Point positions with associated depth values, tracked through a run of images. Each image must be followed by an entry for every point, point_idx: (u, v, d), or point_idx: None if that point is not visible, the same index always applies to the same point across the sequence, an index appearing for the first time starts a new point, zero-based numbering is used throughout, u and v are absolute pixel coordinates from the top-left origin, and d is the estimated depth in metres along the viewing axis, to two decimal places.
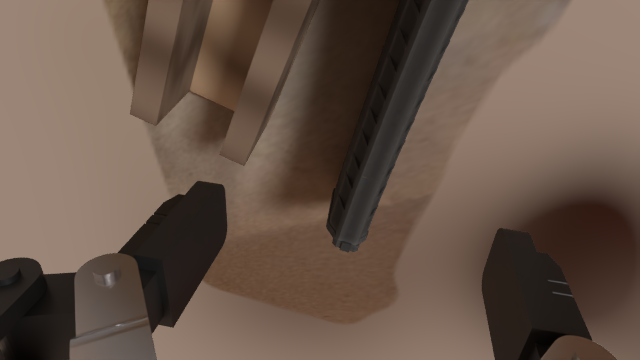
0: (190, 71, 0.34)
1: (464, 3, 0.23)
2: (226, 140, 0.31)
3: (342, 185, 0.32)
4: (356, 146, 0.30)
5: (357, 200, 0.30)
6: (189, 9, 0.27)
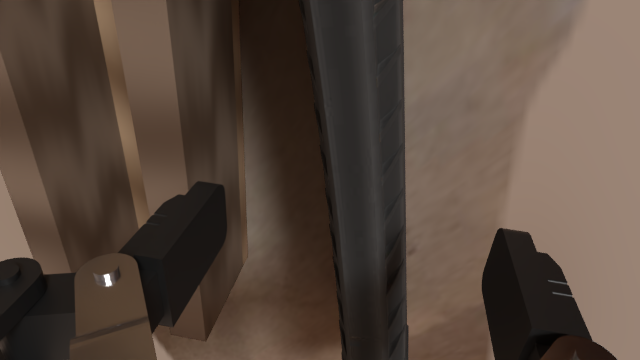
0: (127, 229, 0.27)
1: (390, 37, 0.13)
2: None
3: (341, 342, 0.21)
4: None
5: None
6: (64, 169, 0.21)
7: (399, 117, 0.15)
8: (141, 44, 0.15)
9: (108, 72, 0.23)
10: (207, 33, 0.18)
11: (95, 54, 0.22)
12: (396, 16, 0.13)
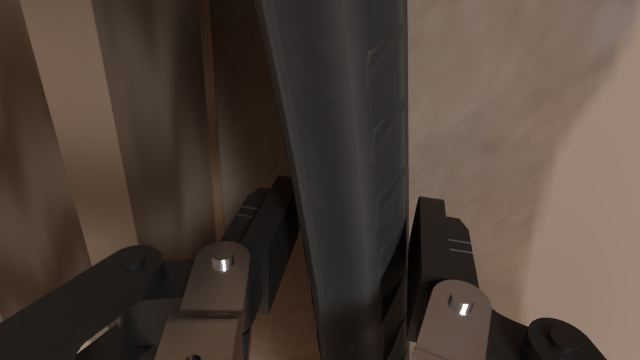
0: None
1: (390, 91, 0.10)
2: None
3: None
4: None
5: None
6: (0, 221, 0.17)
7: (402, 187, 0.12)
8: (70, 84, 0.12)
9: None
10: (165, 64, 0.14)
11: (42, 82, 0.18)
12: (399, 62, 0.10)
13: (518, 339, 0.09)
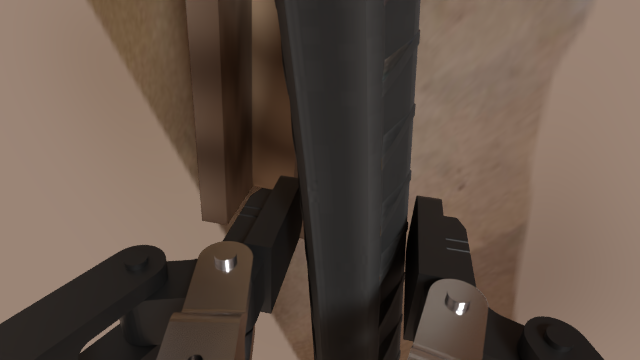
0: (248, 167, 0.36)
1: (402, 99, 0.10)
2: None
3: None
4: None
5: None
6: (230, 110, 0.30)
7: (406, 193, 0.12)
8: None
9: (252, 46, 0.32)
10: None
11: (248, 32, 0.31)
12: (412, 70, 0.10)
13: (515, 338, 0.09)
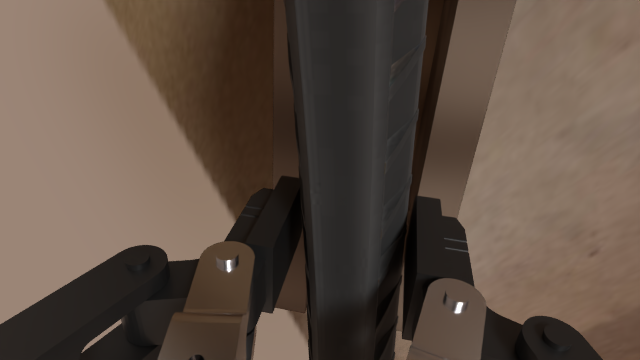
0: None
1: (407, 103, 0.10)
2: None
3: None
4: None
5: None
6: None
7: (407, 197, 0.12)
8: (469, 62, 0.17)
9: None
10: None
11: None
12: (417, 76, 0.10)
13: (513, 337, 0.09)
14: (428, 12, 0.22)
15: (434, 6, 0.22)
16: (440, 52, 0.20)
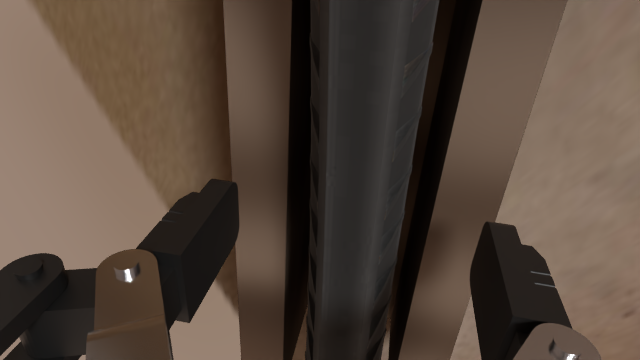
0: (305, 286, 0.24)
1: (413, 101, 0.11)
2: None
3: None
4: (306, 347, 0.17)
5: None
6: (294, 233, 0.18)
7: (406, 185, 0.13)
8: (489, 107, 0.12)
9: None
10: None
11: None
12: (423, 77, 0.11)
13: None
14: None
15: (440, 24, 0.17)
16: (449, 86, 0.15)
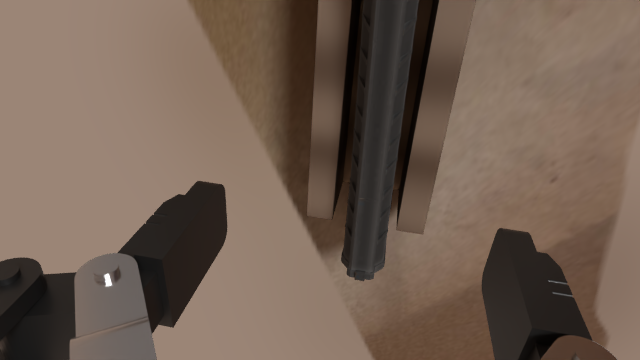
0: (343, 163, 0.37)
1: (412, 10, 0.24)
2: (401, 214, 0.32)
3: (347, 214, 0.32)
4: (351, 171, 0.30)
5: (360, 224, 0.29)
6: (344, 107, 0.30)
7: (409, 59, 0.26)
8: (451, 18, 0.25)
9: (357, 45, 0.33)
10: None
11: (357, 31, 0.32)
12: None
13: None
14: None
15: None
16: (433, 15, 0.28)
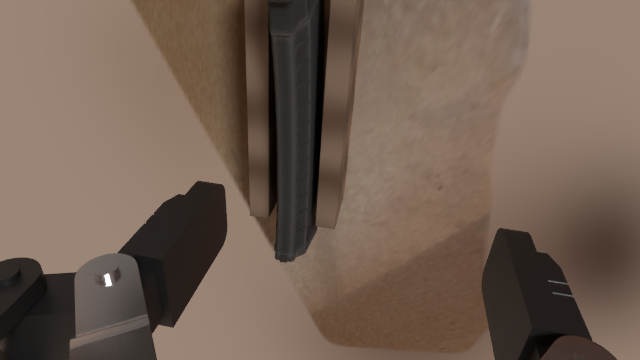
0: None
1: (305, 76, 0.35)
2: (317, 214, 0.44)
3: None
4: (277, 183, 0.42)
5: (282, 221, 0.41)
6: (272, 136, 0.42)
7: (308, 107, 0.37)
8: (335, 79, 0.36)
9: None
10: (353, 72, 0.39)
11: None
12: (308, 69, 0.35)
13: None
14: None
15: None
16: None
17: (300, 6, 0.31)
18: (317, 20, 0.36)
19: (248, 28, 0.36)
